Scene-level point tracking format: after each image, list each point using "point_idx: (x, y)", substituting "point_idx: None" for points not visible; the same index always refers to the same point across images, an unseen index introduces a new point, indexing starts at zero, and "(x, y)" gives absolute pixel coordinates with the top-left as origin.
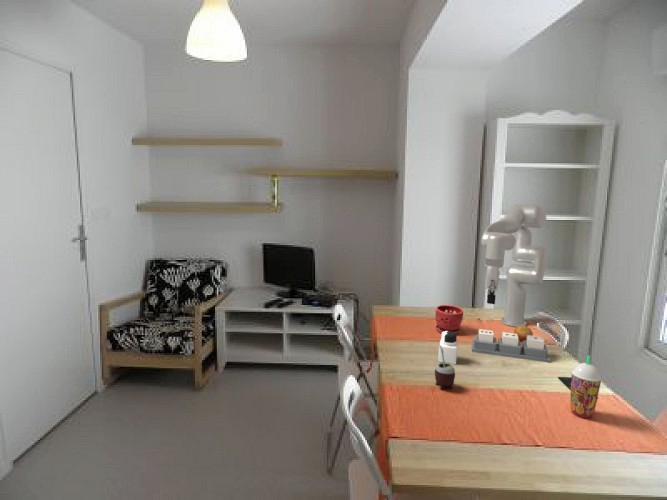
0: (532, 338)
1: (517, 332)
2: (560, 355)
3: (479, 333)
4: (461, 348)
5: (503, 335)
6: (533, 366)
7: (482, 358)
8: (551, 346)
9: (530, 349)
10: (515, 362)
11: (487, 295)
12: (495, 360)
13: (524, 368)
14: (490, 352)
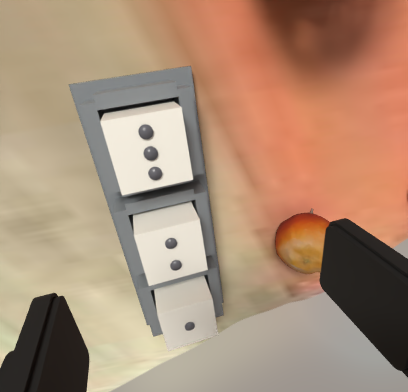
0: (182, 319)
1: (291, 236)
2: (217, 324)
3: (105, 123)
4: (79, 25)
5: (152, 232)
6: (83, 295)
7: (24, 143)
8: (275, 296)
9: (142, 299)
10: (78, 250)
11: (353, 237)
12: (43, 191)
13: (44, 280)
14: (96, 165)
